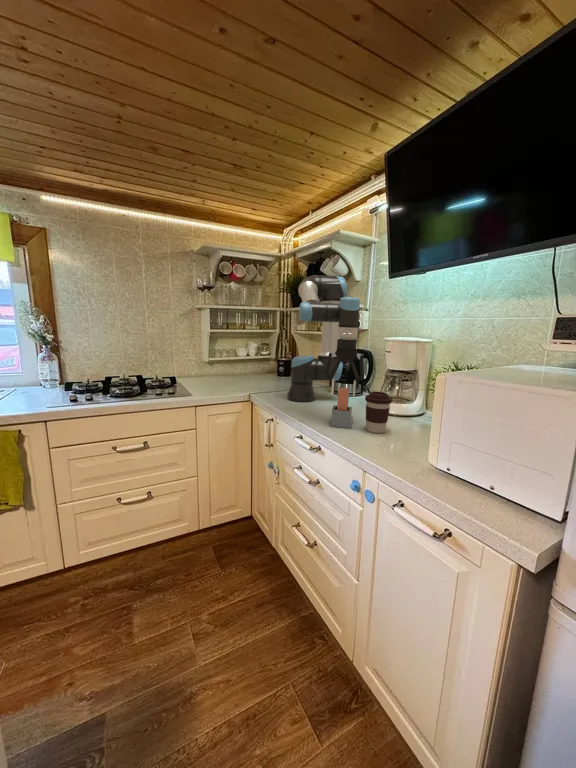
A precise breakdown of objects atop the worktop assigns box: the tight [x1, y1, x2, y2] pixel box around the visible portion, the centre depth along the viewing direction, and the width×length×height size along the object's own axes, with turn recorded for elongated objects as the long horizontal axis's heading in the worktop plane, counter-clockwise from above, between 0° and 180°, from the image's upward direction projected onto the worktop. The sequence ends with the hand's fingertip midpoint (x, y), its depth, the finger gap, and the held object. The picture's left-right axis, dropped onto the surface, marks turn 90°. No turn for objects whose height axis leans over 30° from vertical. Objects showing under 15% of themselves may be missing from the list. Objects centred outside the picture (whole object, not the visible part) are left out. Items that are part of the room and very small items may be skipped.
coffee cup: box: [364, 391, 393, 434], centre depth 124 cm, size 10×10×15 cm
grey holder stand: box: [328, 394, 354, 430], centre depth 133 cm, size 16×9×13 cm, turn 167°
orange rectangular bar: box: [336, 387, 350, 411], centre depth 129 cm, size 4×4×14 cm
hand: (343, 395), depth 129 cm, fingers open, 8 cm apart
